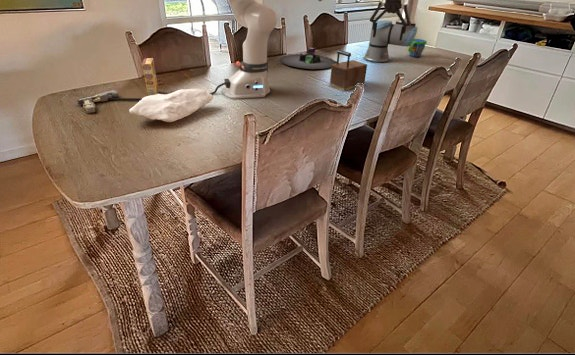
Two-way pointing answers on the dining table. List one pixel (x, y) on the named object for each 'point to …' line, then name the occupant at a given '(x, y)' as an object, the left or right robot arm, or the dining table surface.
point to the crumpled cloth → (171, 104)
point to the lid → (347, 62)
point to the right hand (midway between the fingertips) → (387, 38)
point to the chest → (347, 78)
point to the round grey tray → (308, 60)
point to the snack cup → (417, 47)
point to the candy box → (150, 76)
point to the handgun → (95, 100)
